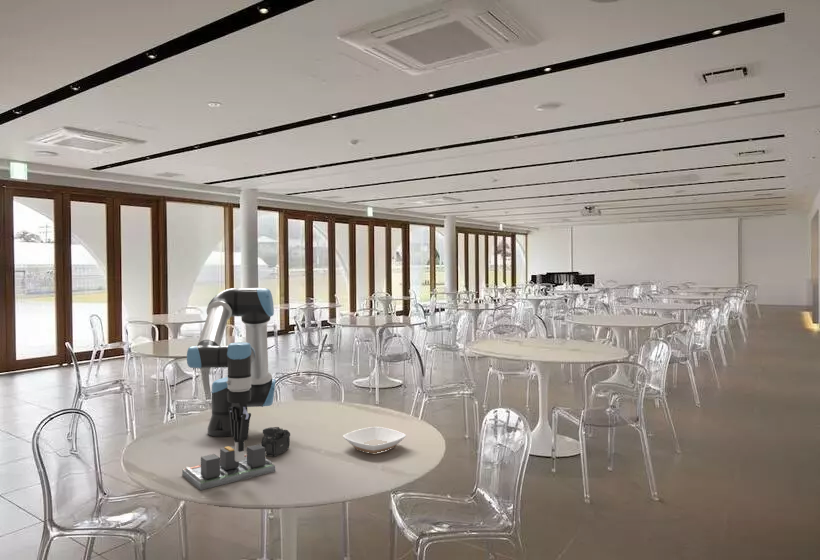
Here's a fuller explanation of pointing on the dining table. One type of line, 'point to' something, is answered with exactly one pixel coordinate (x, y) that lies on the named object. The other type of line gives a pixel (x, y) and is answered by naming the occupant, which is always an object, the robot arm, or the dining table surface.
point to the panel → (226, 474)
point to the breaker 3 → (255, 455)
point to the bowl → (372, 433)
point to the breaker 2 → (228, 458)
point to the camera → (275, 440)
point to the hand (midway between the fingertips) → (239, 460)
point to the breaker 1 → (210, 466)
